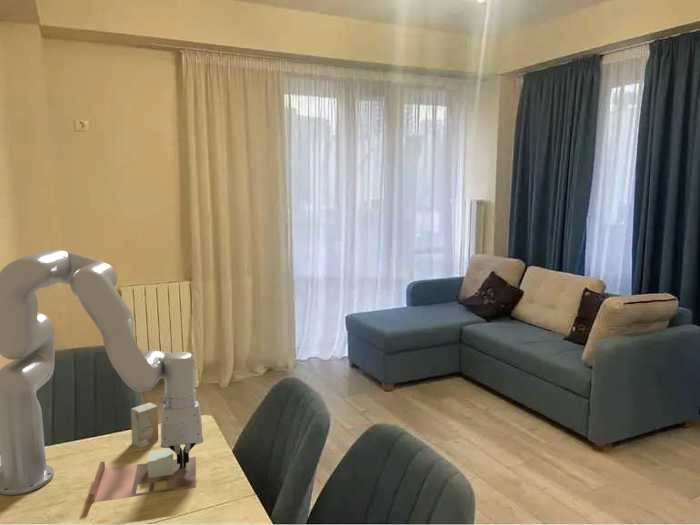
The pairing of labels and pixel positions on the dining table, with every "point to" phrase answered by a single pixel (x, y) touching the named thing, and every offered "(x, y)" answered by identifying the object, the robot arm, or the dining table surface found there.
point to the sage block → (160, 463)
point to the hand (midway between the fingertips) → (183, 465)
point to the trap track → (138, 480)
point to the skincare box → (144, 424)
